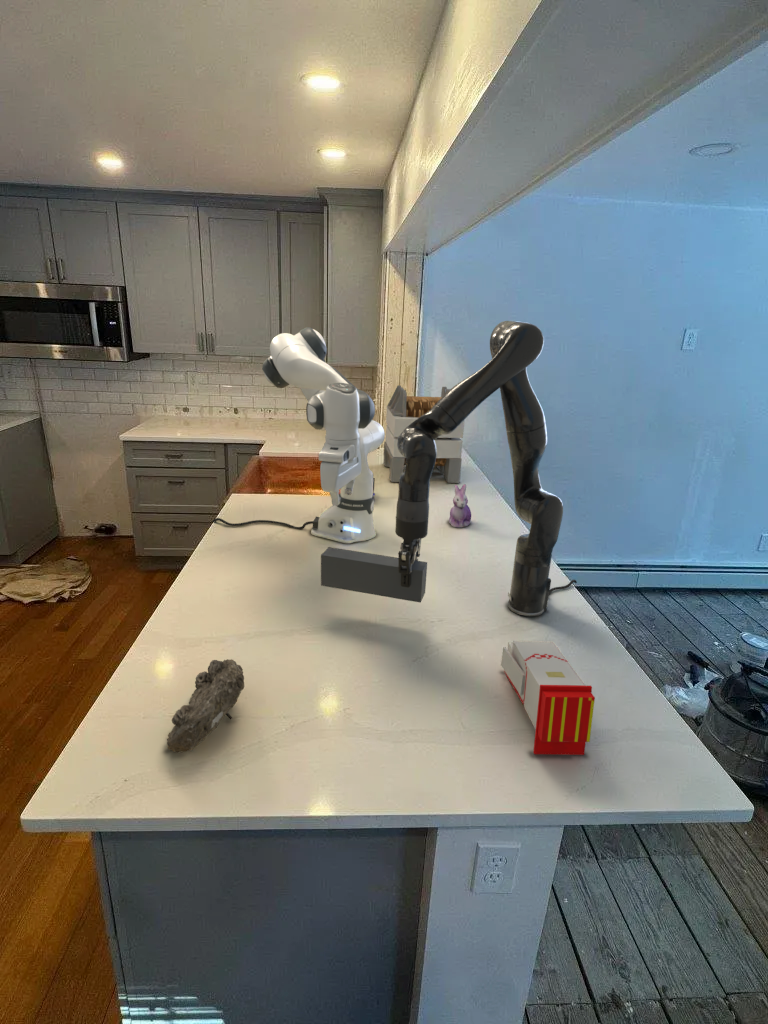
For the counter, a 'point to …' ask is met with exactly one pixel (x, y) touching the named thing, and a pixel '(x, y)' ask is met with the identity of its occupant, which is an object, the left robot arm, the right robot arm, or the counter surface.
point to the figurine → (460, 508)
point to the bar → (371, 574)
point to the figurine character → (373, 486)
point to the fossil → (206, 705)
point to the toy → (550, 696)
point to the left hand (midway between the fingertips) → (342, 499)
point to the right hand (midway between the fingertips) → (408, 580)
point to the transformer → (448, 446)
